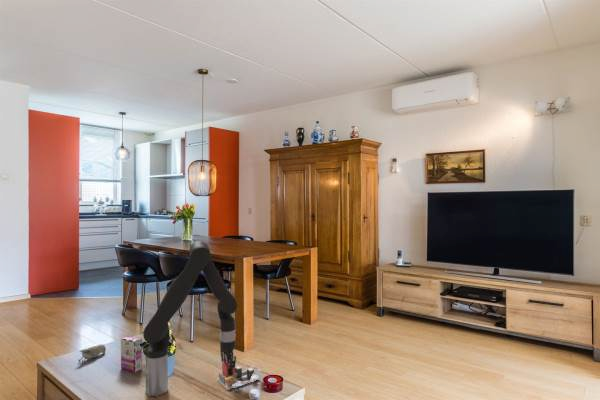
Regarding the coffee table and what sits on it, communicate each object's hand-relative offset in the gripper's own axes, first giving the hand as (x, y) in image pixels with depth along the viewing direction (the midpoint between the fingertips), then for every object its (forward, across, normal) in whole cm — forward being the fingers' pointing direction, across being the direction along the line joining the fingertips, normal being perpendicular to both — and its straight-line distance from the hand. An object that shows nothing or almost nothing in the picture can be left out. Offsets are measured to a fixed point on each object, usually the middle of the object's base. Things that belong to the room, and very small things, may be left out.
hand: (228, 373), depth 185 cm
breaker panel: (+4, -2, -4) cm, 6 cm away
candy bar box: (+4, +42, +36) cm, 56 cm away
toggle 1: (+3, 0, -5) cm, 6 cm away
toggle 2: (+3, -5, -10) cm, 11 cm away
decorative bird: (+4, +70, +52) cm, 87 cm away
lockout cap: (+1, 0, 0) cm, 1 cm away
